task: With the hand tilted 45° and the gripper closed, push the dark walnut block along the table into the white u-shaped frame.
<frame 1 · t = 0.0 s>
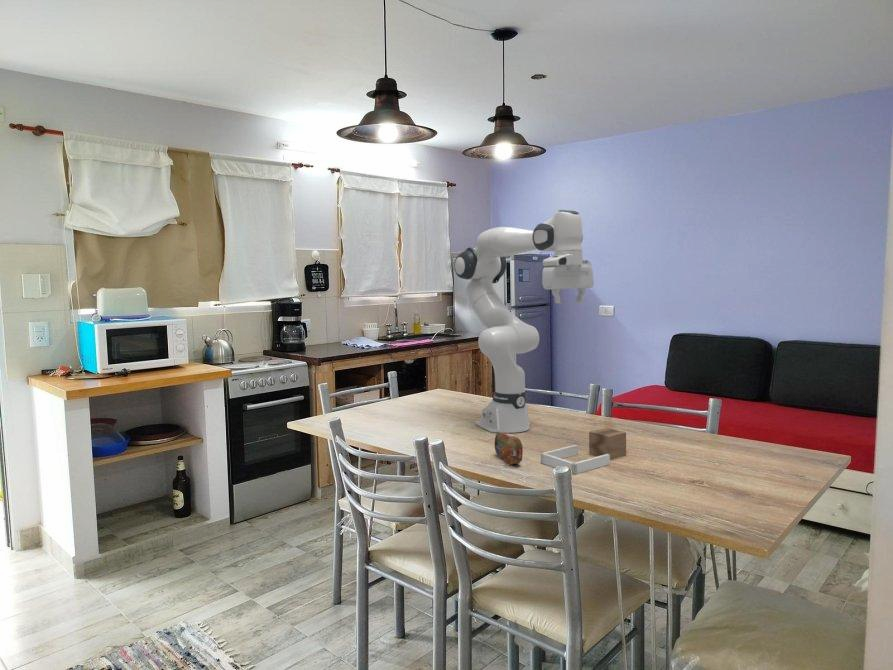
hand: (568, 302, 196), 48 cm above the table, tool pointing down, fingers open, 8 cm apart
white u-shaped frame: (576, 463, 182), on the table
walnut block: (607, 455, 190), on the table
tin: (508, 461, 187), on the table
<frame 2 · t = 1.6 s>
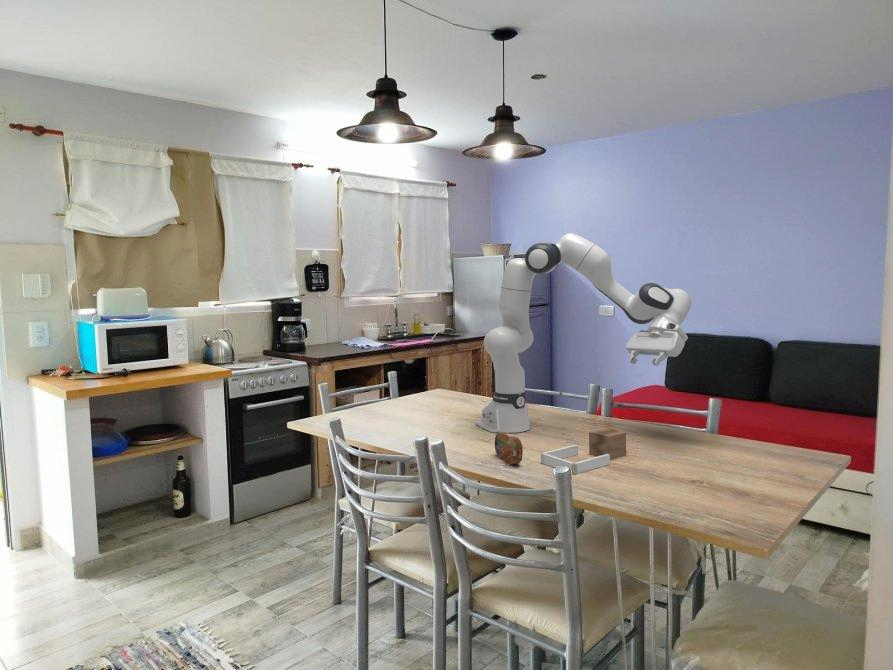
hand: (643, 363, 197), 27 cm above the table, tool tilted 45°, fingers open, 8 cm apart
nothing on the table moved.
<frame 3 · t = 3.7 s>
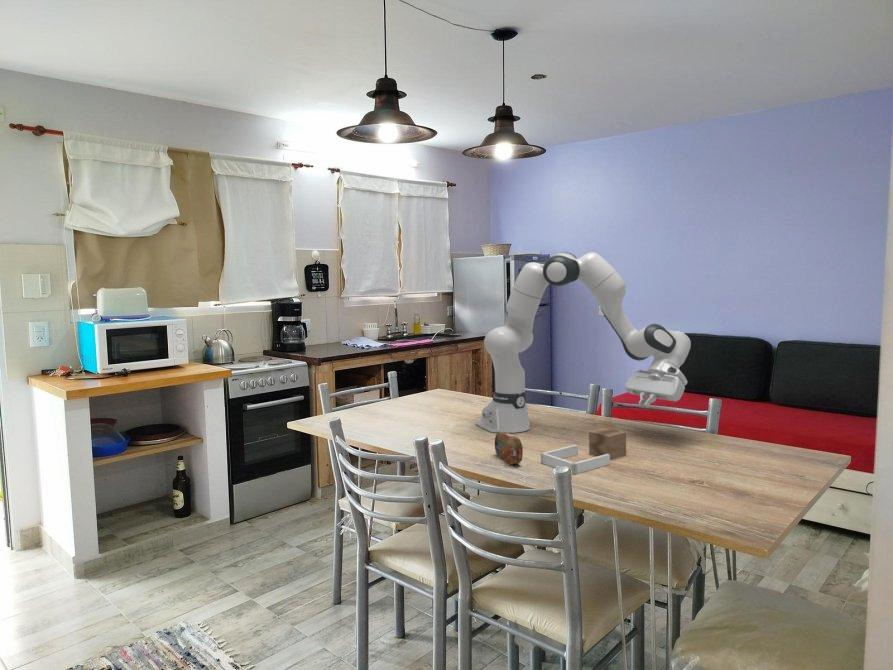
hand: (643, 405, 198), 13 cm above the table, tool tilted 45°, fingers closed
nothing on the table moved.
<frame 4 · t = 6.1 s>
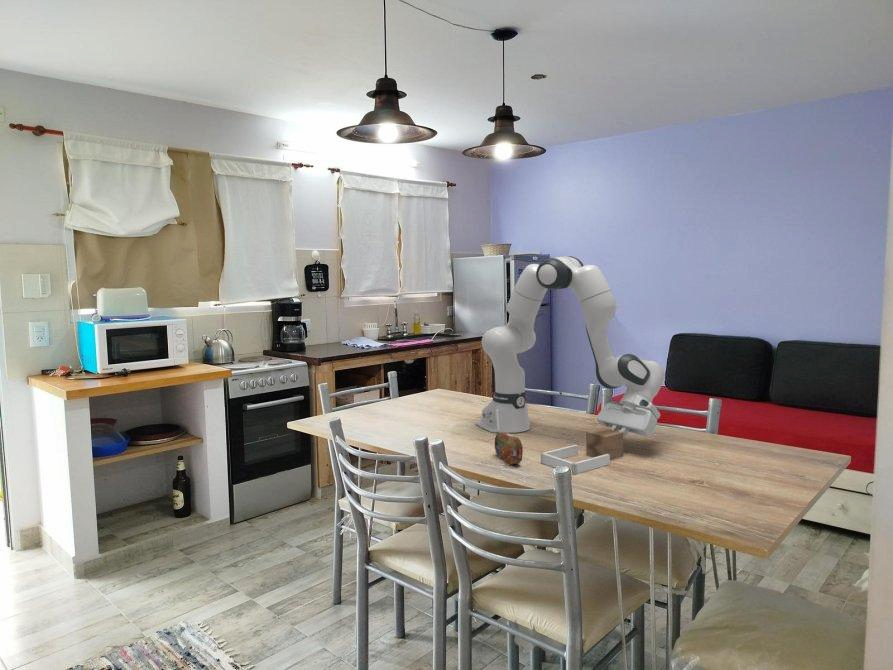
hand: (614, 439, 191), 4 cm above the table, tool tilted 45°, fingers closed, pressing on walnut block
walnut block: (604, 455, 189), on the table, touching gripper
everything else where it was.
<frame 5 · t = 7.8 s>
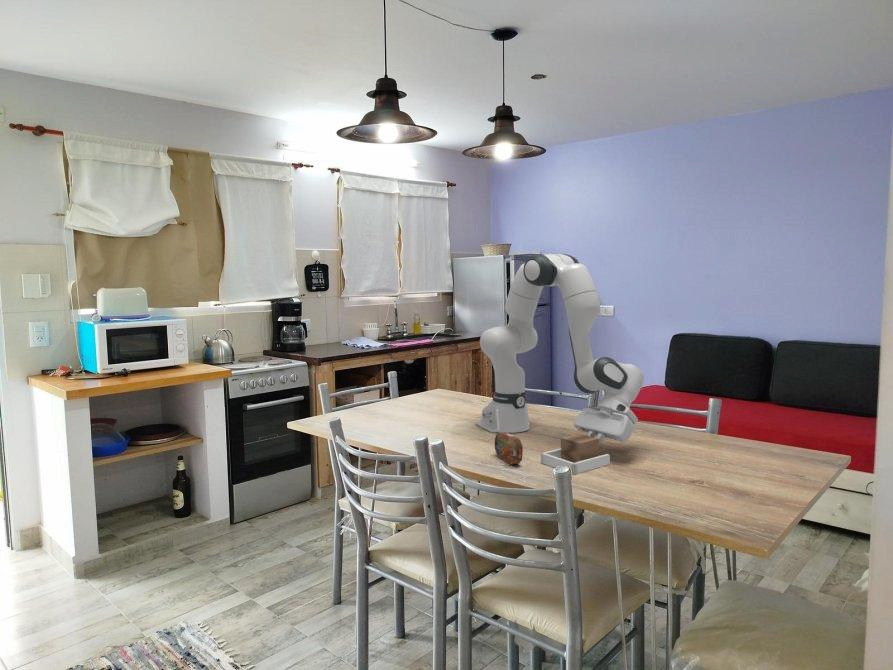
hand: (590, 445, 185), 4 cm above the table, tool tilted 45°, fingers closed, pressing on walnut block
walnut block: (579, 462, 183), on the table, touching gripper
everything else where it was.
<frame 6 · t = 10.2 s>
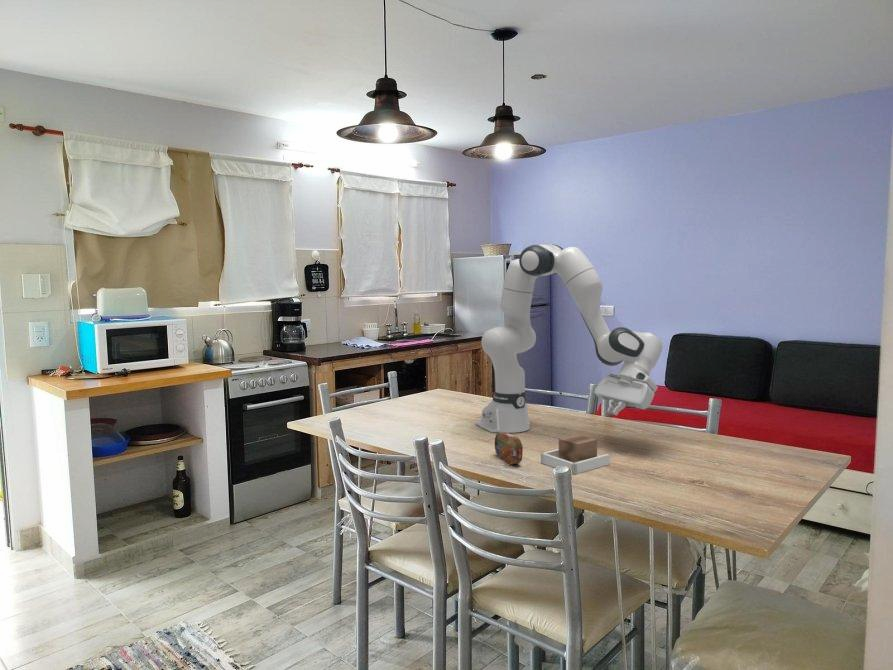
hand: (611, 413, 191), 13 cm above the table, tool tilted 40°, fingers closed
walnut block: (577, 463, 183), on the table
everything else where it was.
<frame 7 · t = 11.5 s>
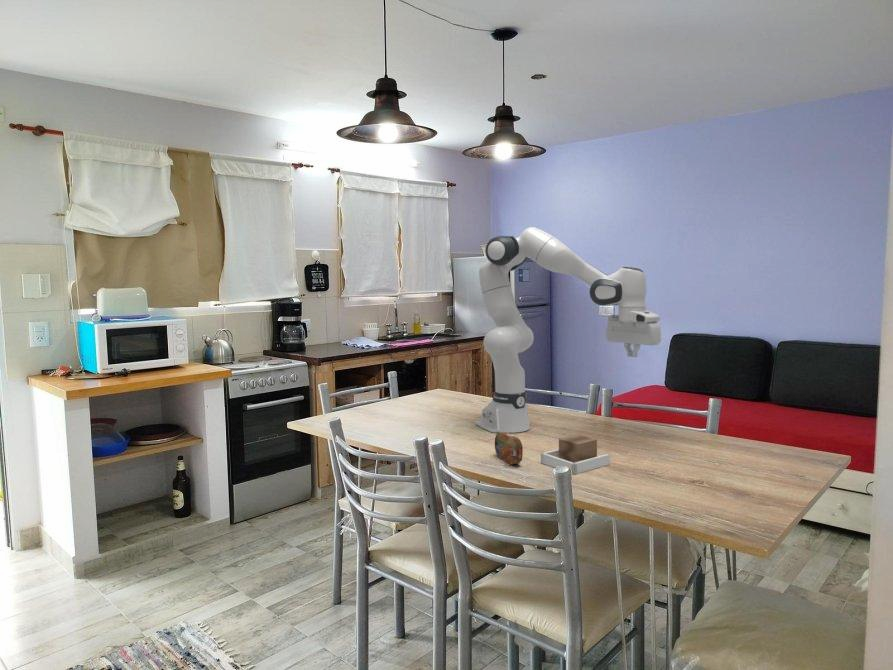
hand: (632, 356, 201), 29 cm above the table, tool pointing down, fingers closed
nothing on the table moved.
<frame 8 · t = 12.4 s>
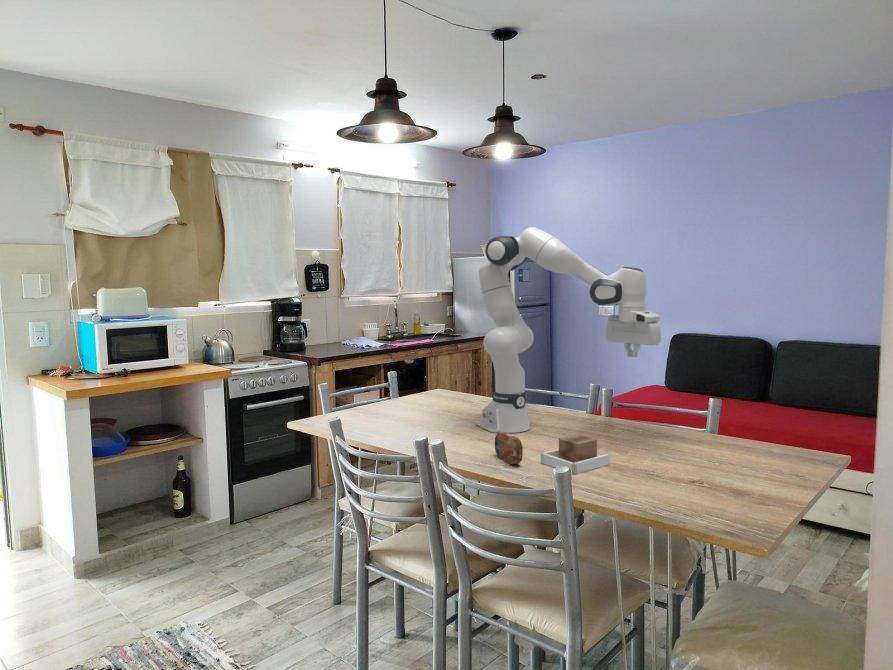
hand: (632, 356, 201), 29 cm above the table, tool pointing down, fingers closed
nothing on the table moved.
at the end: walnut block 1.1 cm off-centre on the white u-shaped frame, point 0.0 cm above the white u-shaped frame's base; walnut block tilted 0°; walnut block moved 13.2 cm from its start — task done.
